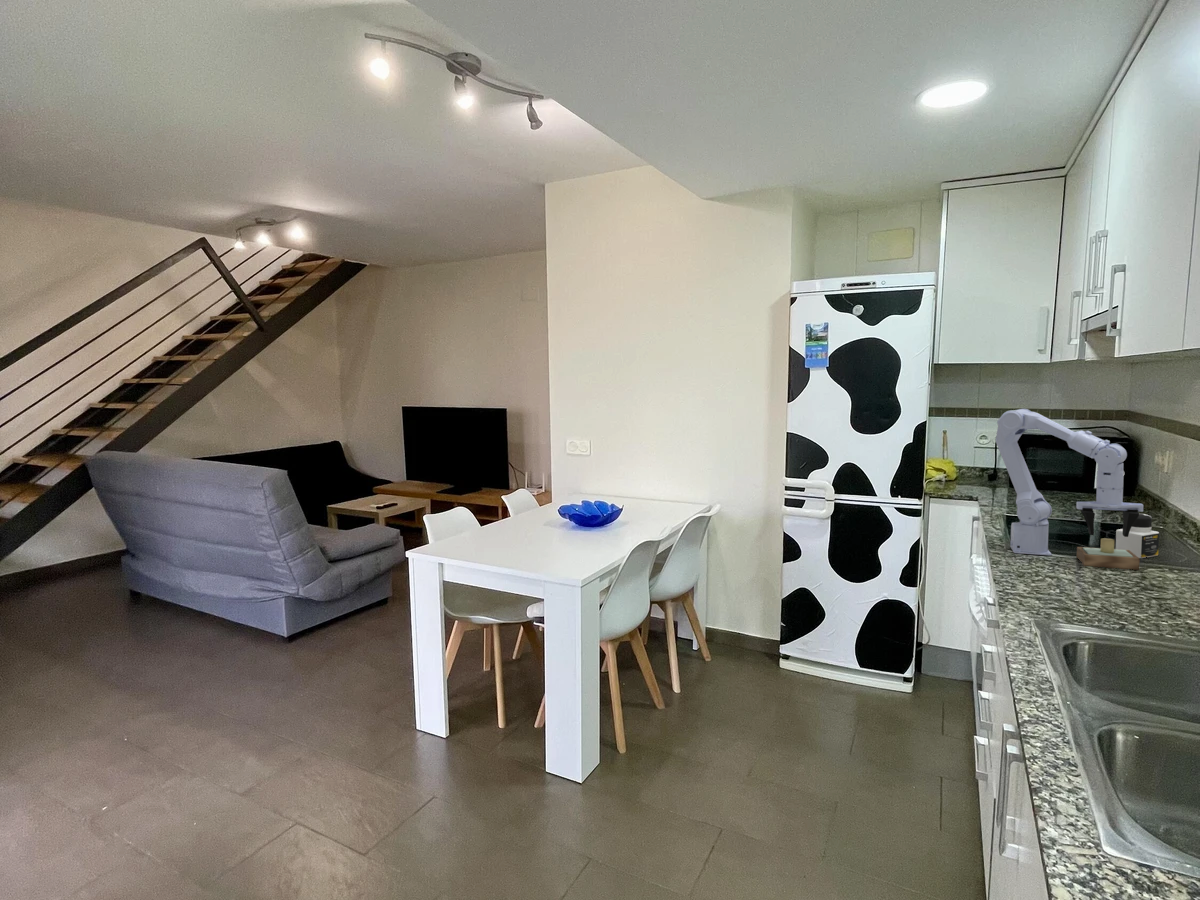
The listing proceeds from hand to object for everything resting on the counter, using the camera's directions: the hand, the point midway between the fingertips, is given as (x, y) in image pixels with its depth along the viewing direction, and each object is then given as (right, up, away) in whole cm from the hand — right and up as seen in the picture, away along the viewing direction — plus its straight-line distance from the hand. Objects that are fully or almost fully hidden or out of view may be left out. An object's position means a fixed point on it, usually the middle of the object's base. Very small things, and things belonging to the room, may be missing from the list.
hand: (1108, 535), depth 175 cm
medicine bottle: (+15, -7, +8) cm, 19 cm away
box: (0, -8, +1) cm, 8 cm away
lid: (0, -6, +1) cm, 6 cm away
